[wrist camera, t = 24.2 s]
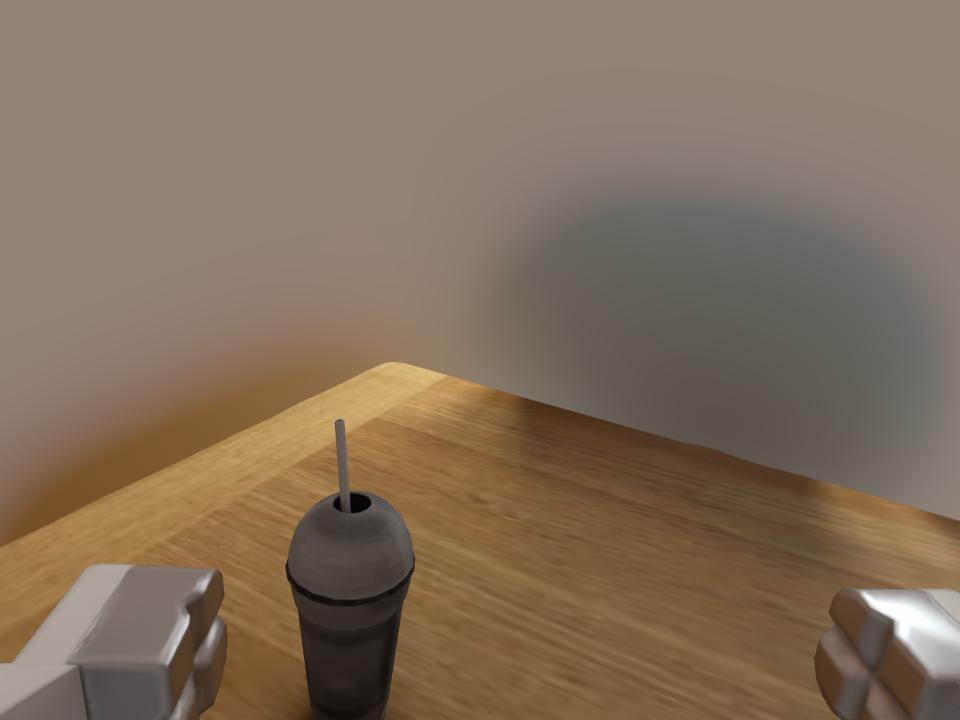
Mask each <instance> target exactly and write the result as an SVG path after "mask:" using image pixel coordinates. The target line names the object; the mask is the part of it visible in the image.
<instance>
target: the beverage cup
mask: <svg viewBox="0 0 960 720" xmlns="http://www.w3.org/2000/svg"><path fill="white" fill-rule="evenodd" d="M335 432H336V446H337V460H338V473H339V487H340V492H339V493H336V494H333V495H330V496H328V497H326V498H325V499H323V500H321V501H320V502H318V503H316V504H315V505H314V506H313V507H312V508H311V509H310V510H309V511H308V512H307V513H306V514H305V516H304V517H303V518H302V519H301V521H300V522H299V524H298V526H297V528H296V530H295V533H294V536H293V539H292V541H291V545H290V549H289V556H288V559H287V563H286V566H285V568H286V574H287V579H288V581H289V582H290V584H291V589H292V594H293V597H294V601H295V604H296V607H297V608H298V614H299V622H300V629H301V637H302V645H303V653H304V660H305V668H306V676H307V684H308V691H309V699H310V704H311V708H312V711H313V720H383V719H384V717H385V709H386V704H387V701H388V698H389V692H390V685H391V679H392V672H393V665H394V659H395V652H396V645H397V639H398V632H399V626H400V619H401V612H402V606H403V601H404V599H405V598H406V595H407V591H408V588H409V584H410V578H411V575H412V574H413V572H414V566H415V556H414V552H413V550H412V541H411V536H410V534H409V531H408V529H407V527H406V524H405V522H404V520H403V518H402V517H401V515H400V514H399V512H398V511H397V510H396V509H395V508H394V507H393V506H392V505H391V504H389V503H388V502H387V501H386V500H384V499H383V498H381V497H379V496H377V495H374V494H372V493H368V492H363V491H349V480H348V467H347V453H346V439H345V425H344V420H343V419H338V420H335Z"/></svg>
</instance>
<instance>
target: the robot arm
mask: <svg viewBox="0 0 960 720" xmlns="http://www.w3.org/2000/svg"><path fill="white" fill-rule="evenodd" d="M223 598H224V586H223V576H222V573H221V572H220V571H219V570H218V569H209V568H190V567H171V566H152V565H136V566H134V565H123V564H99V563H95V564H93V565H91V566H89V567H87V568H85V569H84V570H83V571H82V573H81V574H80V575H79V576H78V578H77V579H76V580H75V582H74V583H73V584H72V586H71V587H70V588H69V589H68V591H67V592H66V593H65V595H64V596H63V597H62V598H61V600H60V601H59V602H58V604H57V605H56V606H55V607H54V609H53V610H52V611H51V613H50V614H49V615H48V616H47V618H46V619H45V620H44V622H43V623H42V624H41V625H40V627H39V628H38V629H37V631H36V632H35V633H34V634H33V636H32V637H31V638H30V640H29V641H28V642H27V643H26V645H25V646H24V647H23V649H22V650H21V651H20V652H19V654H18V655H17V656H16V658H15V659H14V660H13V661H12V663H0V720H200V719H199V716H200V715H201V714H202V713H204V712H205V711H206V710H207V709H208V708H210V707H211V706H212V705H213V704H214V701H215V698H216V696H217V693H218V690H219V687H220V684H221V680H222V675H223V671H224V666H225V661H226V650H227V627H226V623H225V622H224V621H223V620H222V619H221V618H220V617H219V616H218V615H217V612H218V610H219V607H220V605H221V603H222V600H223ZM829 614H830V616H831V618H832V620H833V622H834V624H835V626H833V627H832V628H831V629H830V630H829V631H828V632H826V633H825V634H824V635H823V636H822V637H821V638H820V639H819V643H818V646H817V650H816V654H815V657H814V661H815V671H816V680H817V683H818V686H819V688H820V691H821V694H822V696H823V698H824V700H825V701H826V703H827V704H828V706H829V708H830V709H831V711H832V712H833V714H835V715H836V716H838V717H839V718H840V719H842V720H960V593H958V592H956V591H954V590H952V589H913V590H902V589H860V588H842V589H841V590H840V591H839V592H838V593H837V594H836V595H835V596H834V597H833V600H832V603H831V606H830V609H829Z"/></svg>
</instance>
